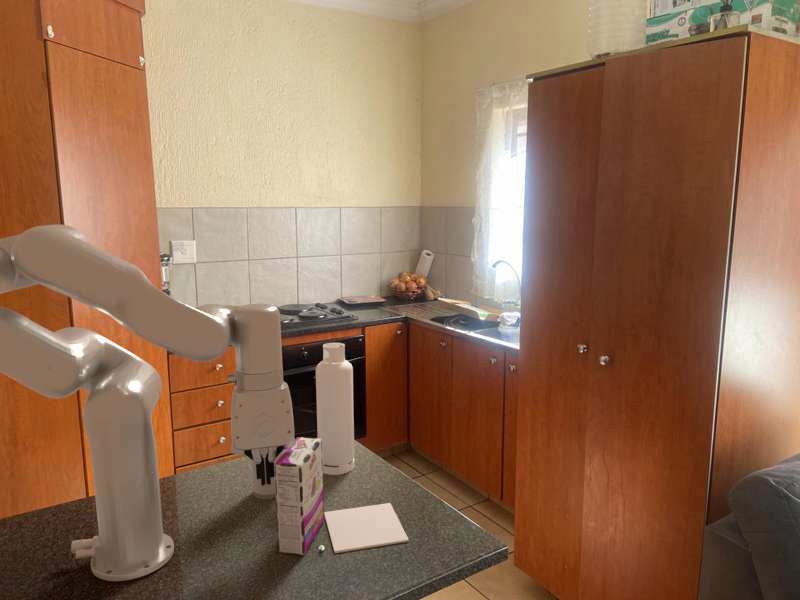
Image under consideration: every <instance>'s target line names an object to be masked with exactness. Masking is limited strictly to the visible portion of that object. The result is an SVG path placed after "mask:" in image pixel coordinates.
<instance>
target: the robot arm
mask: <svg viewBox="0 0 800 600" xmlns="http://www.w3.org/2000/svg"><path fill="white" fill-rule="evenodd" d="M36 285H41V286H43V287H46V288H47V289H50V290H52V291H54V292H56V293H58V294H62V295H63V296H66V297H69V299H73V300H75V301H77V302H79V303H81V304H84V305H86V306H88V307H90V308H93V309H96V310H97V311H99V312H102V313H103V314H106V315H108V316H110V318H112V319H113V320H115V322H117V323H118V324H119V325H122V326H123V327H124V328H126V329H128V330H129V331H130V332H132V333H133V334H135V335H136V336H137V337H139V338H140V339H142V340H145V341H146V342H148V343H150V344H152V345H154V346H156V347H158V348H159V349H163V350H165V351H167V352H169V353H172V354H174V355H177V356H179V357H181V358H184V359H186V360H189V361H192V362H198V363H207V362H208V363H209V362H213V361H215V360H217V359H219V358H220V357H222V356H223V355H224V354H225V353H226V352H227V349H228V348H229V346H233V347H234V359H235V361H234V362H235V371H234V373H233V372H232V373H231V374H230V373H229V374H227V383H228V384H229V383H232V384H235V385H236V386H234V387H233V389H232V394H231V399H230V400H231V403H230V431H231V435H230V436H231V442H232V443H231V447H230V448H231V449H230V451H231V454H235V455H245V456H247V457H248V458H249V459H250V460H251V461H252V460H253V461H254V463H255V464H256V474H257V479H261V486H264V485H265V484H266V483H267V484H268V485H271V477H275V474H274V461H275V459H276V457H277V456H278V455H279V454H280V453H281V452H282V451H283V452H284V450H287V449H288V448H291V447H293V446H295V445H296V441H295V440H296V438H295V423H294V413H293V412H294V411H293V401H292V397H291V392H290V387H289V385H288V383H287V382H285V381H284V370H283V368H284V367H283V350H282V349H283V348H282V328H281V314H280V310H279V309H278V307H277V306H275V305H274V304H269V303H251V304H245V305H244V304H243V305H232V304H231V305H230V304H229V305H227V304H222V303H221V304H219V303H206V304H203V305H200V306H197V307H196V308H195V307H193V306H190V305H188V304H186V303H183V302H182V301H180V300H177V299H176V298H173V296H170V295H168V294H167V293H165V292H164V291H162V290H160V289H159V288H158V287H156V285H154V284H153V283H152V282H151V280H149V278H148V277H147V276H146V274H145V273H144V272H143V270H141V269H140V268H139V267H137V265H135V264H133V263H131V262H129V261H126V260H124V259H122V258H120V257H117V256H116V255H114V254H112V253H109V252H108V251H105V250H103V249H101V248H99V247H97V246H95V245H92V244H91V243H90V240H89V239H88V238H87V236H86V235H85V234H84V233H83V232H82V231H80V230H79V229H77V228H76V227H73V226H70V225H66V224H46V225H38V226H34V227H30V228H28V229H26V230H25V231H23V232H22V233H21V234H16V235H12V236H8V237H3V238H0V295H1V294H4V293H5V294H6V293H8V292H12V291H13V292H14V291H16V290H20V289H25V288H29V287H32V286H36ZM0 373H1V374H3V375H5V376H6V377H8V378H10V379H12V380H14V381H16V382H18V383H19V384H21V385H22V386H24V387H26V388H28V389H30V390H31V391H33V392H35V393H37V394H39V395H41V396H42V397H46V398H48V399H57V400H58V399H64V398H67V397H69V396H72V395H73V394H75V393H76V392H77V391H79V390H81V389H82V390H84V391H85V392H87V393H88V394H87V397H86V399H85V402H84V405H83V409H82V421H83V427H84V431H85V434H86V435H85V436H86V439H87V442H88V447H89V453H90V460H91V462H90V463H91V469H92V478H93V486H94V487H93V488H94V497H95V507H96V510H95V511H96V518H97V531H98V535H94V536H93V537H92V538H87V539H85V538H83V539H77V540H76V539H75V540H72V541H71V546H70V550H71V553H72V554H75V559H76V560H81V559H86V558H91V560H90V569H91V572H92V575H93V576H95V578H98V579H100V580H103V581H107V582H125V581H130V580H135V579H139V578H142V577H145V576H147V575H150V574H152V573H154V572H155V571H157V570H159V569H160V568H162V567H164V565H165V564H167V563H168V562H169V561H170V559H171V558H172V557H173V555H174V552H175V544H174V543H175V542H174V539H172V537H171V536H169V535H168V534H166V533H164V529H163V514H162V501H161V490H160V489H161V488H160V475H159V465H158V464H159V463H158V454H157V445H156V444H157V443H156V438H155V432H154V428H153V411H154V410H155V407H156V405H157V404H158V402H159V400H160V397H161V395H162V392H163V382H162V378H161V376H160V373H158V370H157V369H156V368H155V367H153V365H151V364H150V363H149V362H148V361H146V360H144V359H142V357H139V356H138V355H136V354H134V353H132V352H131V351H129V350H127V349H125V348H124V347H122V346H121V345H118V344H117V343H115V342H113V340H110V339H108V338H107V337H105V336H103V335H101V334H100V333H98V332H96V331H94V330H91V329H89V328H85V327H78V326H70V327H64V328H60V329H58V330H56V331H52V330H50V329H47V328H46V327H44V326H42V325H40V324H38V323H36V322H35V321H33V320H31V319H30V318H28V317H27V316H25V315H23V314H22V313H19V312H17V311H15V310H12V309H9V308H7V307H4V306H1V305H0ZM261 448H268V453H267V454H266V457H265V464H264V458H263V455H262V454H261V453H260V449H261ZM265 468H266V481H265Z"/></svg>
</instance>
